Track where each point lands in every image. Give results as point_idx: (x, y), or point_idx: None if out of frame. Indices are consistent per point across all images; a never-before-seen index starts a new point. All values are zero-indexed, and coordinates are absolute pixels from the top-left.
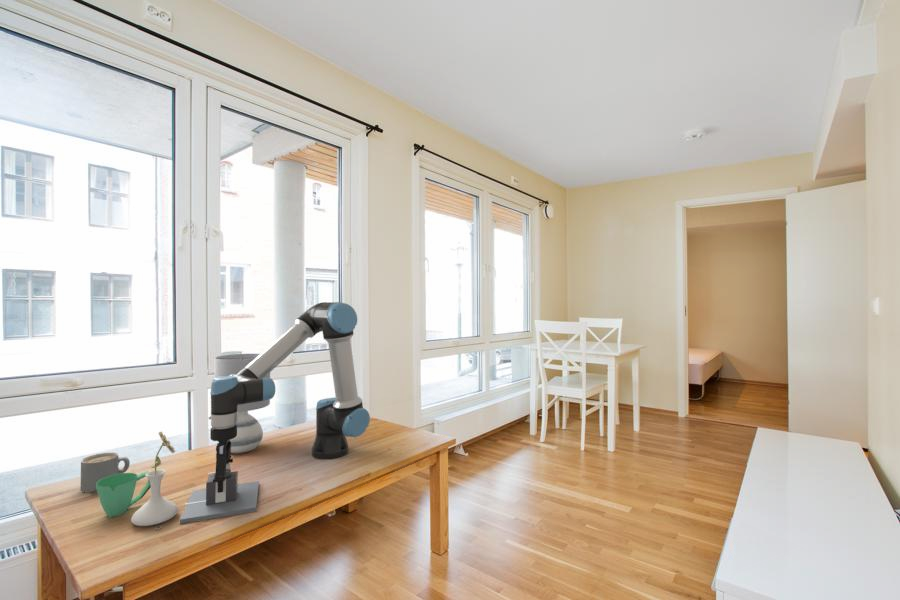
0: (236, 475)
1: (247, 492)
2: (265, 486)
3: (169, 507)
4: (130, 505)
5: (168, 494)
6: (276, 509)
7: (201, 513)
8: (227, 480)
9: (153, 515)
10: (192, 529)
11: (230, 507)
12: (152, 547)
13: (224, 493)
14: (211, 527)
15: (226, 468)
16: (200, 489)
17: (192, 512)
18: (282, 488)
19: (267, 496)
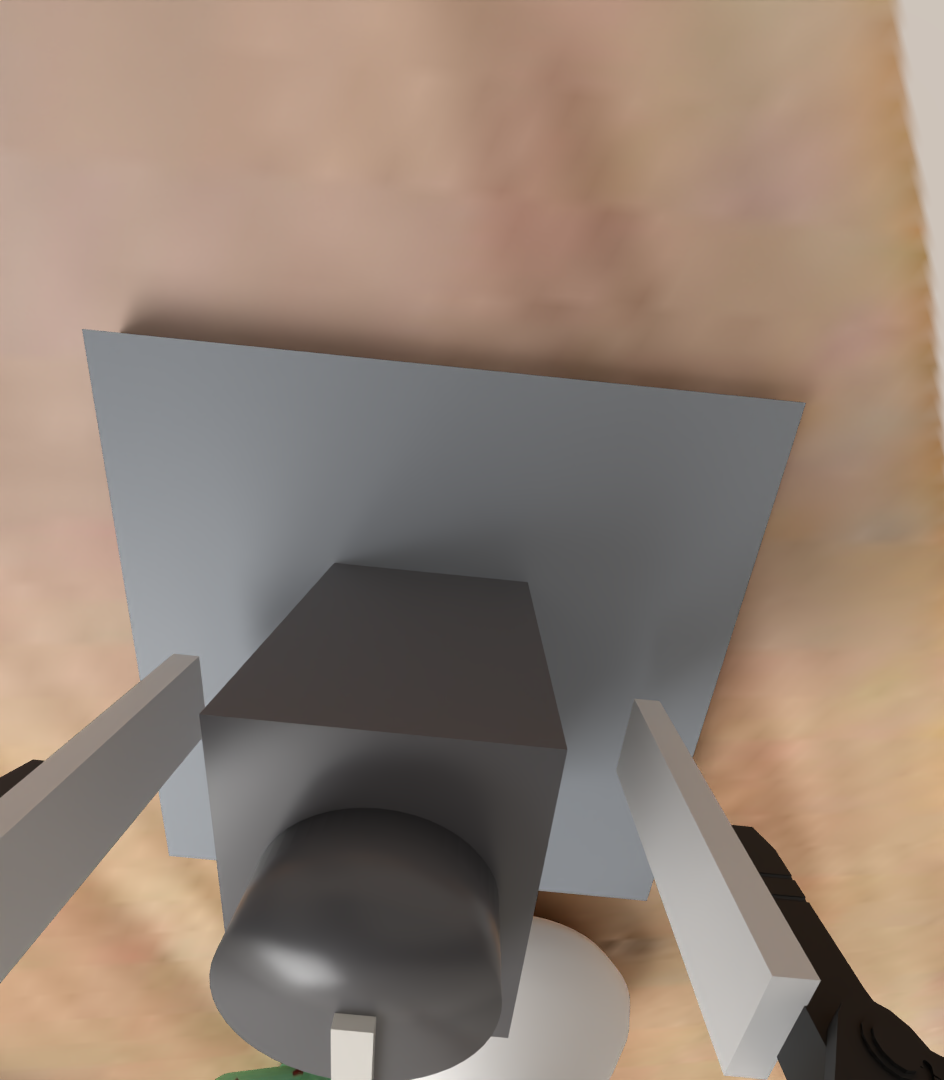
0: (417, 738)
1: (375, 470)
2: (189, 257)
3: (560, 1019)
4: (292, 1077)
5: (148, 932)
6: (886, 176)
7: None
8: (543, 839)
9: (614, 1061)
10: (767, 814)
11: (652, 625)
12: (842, 952)
13: (694, 776)
14: (825, 722)
15: (35, 860)
16: (162, 814)
17: (576, 847)
18: (319, 20)
19: (483, 256)
